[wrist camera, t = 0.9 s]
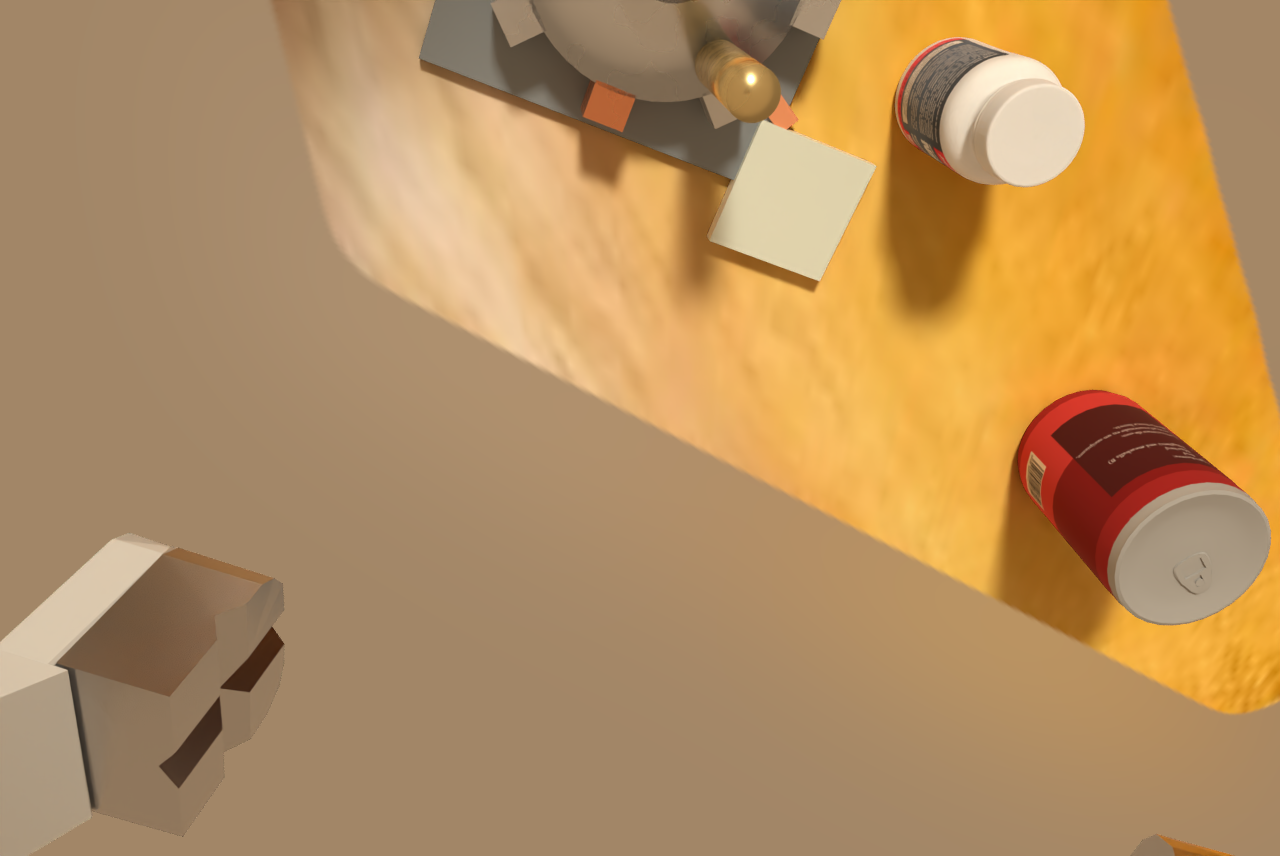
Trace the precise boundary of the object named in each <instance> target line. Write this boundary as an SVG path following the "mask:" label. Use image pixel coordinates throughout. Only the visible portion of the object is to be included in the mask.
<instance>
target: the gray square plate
mask: <svg viewBox="0 0 1280 856" xmlns="http://www.w3.org/2000/svg"><path fill="white" fill-rule="evenodd" d="M490 3H491V0H435V4H434V7H433V11H432V14H431V18H430V21H429V25H428V28H427V32H426V35H425V39H424V42H423V45H422V49H421V52H420V56H419V59H422V60H424V61H427V62H430V63H432V64H435V65H437V66H440V67H442V68H445V69H448V70H450V71H453V72H455V73H458V74H461V75H463V76H466V77H468V78H471V79H474V80H476V81H479V82H481V83H484V84H486V85H489V86H492V87H494V88H497V89H499V90H502V91H505V92H507V93H510V94H512V95H515V96H517V97H520V98H523V99H525V100H528V101H530V102H533V103H536V104H538V105H541V106H543V107H546V108H548V109H551V110H554V111H556V112H559V113H561V114H564V115H567V116H569V117H572V118H574V119H577V120H579V121H582V122H585V123H587V124H590V125H592V126H595V127H598V128H600V129H603V130H605V131H608V132H610V133H613V134H616V135H618V136H621V137H623V138H626V139H629V140H631V141H634V142H636V143H639V144H641V145H644V146H647V147H649V148H652V149H654V150H657V151H660V152H662V153H665V154H667V155H670V156H672V157H675V158H678V159H680V160H683V161H685V162H688V163H691V164H693V165H696V166H698V167H701V168H703V169H706V170H709V171H711V172H714V173H716V174H719V175H722V176H724V177H727V178H729V179H732V180H734V179H735V177H736V174H737V172H738V170H739V168H740V165H741V163H742V161H743V158H744V156H745V154H746V152H747V149H748V147H749V145H750V142H751V140H752V138H753V135H754V133H755V131H756V129H757V126H758V124H759V122H757V123H746V122H742V121H740V120H738V119H736V120H734V121H732V122H730V123H728V124H726V125H723V126H721V127H719V128H717V129H715V128H714V127H713V126H712V125H711V124H710V122H709V121H708V120H707V118H706V115H705V112H704V110H703V107H702V105H701V102H700V99H699V98H695V99H691V100H686V101H676V102H652V101H645V100H640V99H635V101H634V103H633V106H632V109H631V111H630V114H629V117H628V119H627V122H626V124H625V127H624V130H623V132H621V131H618V130H616V129H613V128H610V127H608V126H605V125H603V124H600V123H598V122H595V121H592V120H590V119H587V118H585V117H583V115H582V112H581V109H580V107H581V104H582V102H583V99H584V96H585V93H586V91H587V88H588V85H589V82H590V79H589V78H587V77H586V76H584V75H583V74H581V73H580V72H579V71H578V70H577V69H576V68H574V67H573V66H572V65H571V64H570V63H569V62H567V61H566V59H565V58H564V57H563V56H562V55H561V54H560V53H559V52H558V50H557V49H556V48H555V47H554V46H553V45H552V43H551V42H550V40H549V39H548V37H547V36H546V34H545V33H544V32H542V33H540V34H538V35H536V36H534V37H532V38H530V39H527V40H525V41H523V42H521V43H519V44H517V45H515V46H513V47H510V45H509V43H508V41H507V38H506V36H505V34H504V32H503V30H502V28H501V25H500V23H499V21H498V19H497V17H496V15H495V13H494V10H493V8H492V6H491V4H490ZM819 39H820V38H819V37H816V36H814V35H812V34H810V33H807V32H805V31H803V30H801V29H798V28H796V27H794V26H792V27H791V29H790V30H789V32H788V33H787V35H786V36H785V38H784V39H783V41H782V42H781V43H780V44H779V45H778V47H777V48H776V49H775V50H774V51H773V52H772V54H771V55H770V56H769V57H768V58H767V59H766V60H765V61H764V62H762V63H761V64H763V65H764V66H765V67H767V68H768V69H770V70H771V71H772V72H773V73H774V74H775V75H776V77H777V78H778V80H779V83H780V87H781V97H780V101H779V104H778V106H777V108H776V110H775V111H774V112H773V113H772V115H770V116H769V117H768V118H767V119H765V120H766V121H768V122H771V123H773V124H774V125H777V126H779V127H782V128H784V129H788V128H789V127H790V126H792V125H793V124H794V123H795V122H797V121H798V118H797V117H796V115H795V114H794V112H793V111H792V110H791V108H790V107H789V106H790V104H791V102H792V99H793V97H794V95H795V93H796V90H797V88H798V86H799V84H800V81H801V79H802V77H803V75H804V72H805V70H806V68H807V66H808V63H809V61H810V59H811V57H812V54H813V52H814V50H815V48H816V45H817V43H818V41H819Z"/></svg>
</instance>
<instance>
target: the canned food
mask: <svg viewBox="0 0 1280 856" xmlns="http://www.w3.org/2000/svg"><path fill="white" fill-rule="evenodd" d="M1018 468H1019V474H1020V477H1021V481H1022V484H1023V486H1024V488H1025V491H1026V492H1027V494H1028V495H1029V496H1030V498H1031V499H1032V500H1033V502H1034V503H1035V504H1036V505H1037V506H1038V508H1039V509H1040V510H1041V511H1042V512H1043V514H1044V515H1045V516H1046V517H1047V518H1048V519H1049V521H1050V522H1051V523H1052V524H1053V525H1054V527H1055V528H1056V529H1057V530H1058V531H1059V533H1060V534H1061V535H1062V536H1063V537H1064V539H1065V540H1066V541H1067V542H1068V543H1069V545H1070V546H1071V547H1072V548H1073V549H1074V550H1075V552H1076V553H1077V554H1078V555H1079V556H1080V558H1081V559H1082V560H1083V561H1084V562H1085V564H1086V565H1087V566H1088V567H1089V568H1090V570H1091V571H1092V572H1093V573H1094V574H1095V576H1096V577H1097V578H1098V579H1099V580H1100V581H1101V583H1102V584H1103V585H1104V586H1105V587H1106V589H1107V590H1108V591H1109V592H1110V593H1111V594H1112V595H1113V596H1114V597H1115V599H1116V600H1117V601H1118V602H1119V603H1120V604H1121V605H1122V606H1124V607H1125V608H1126V609H1127V610H1128V611H1129V612H1130V613H1132V614H1133V615H1134V616H1135V617H1137V618H1139V619H1141V620H1144V621H1146V622H1149V623H1154V624H1158V625H1180V624H1187V623H1191V622H1194V621H1198V620H1201V619H1204V618H1206V617H1209V616H1211V615H1213V614H1215V613H1217V612H1219V611H1221V610H1222V609H1224V608H1225V607H1227V606H1229V605H1230V604H1232V603H1233V602H1234V601H1235V600H1236V599H1238V598H1239V597H1240V596H1241V595H1242V594H1243V593H1244V592H1245V591H1246V590H1247V589H1248V588H1249V587H1250V586H1251V585H1252V584H1253V582H1254V581H1255V579H1256V578H1257V576H1258V575H1259V573H1260V572H1261V570H1262V568H1263V566H1264V564H1265V562H1266V559H1267V557H1268V553H1269V549H1270V544H1271V530H1270V526H1269V522H1268V519H1267V517H1266V515H1265V514H1264V512H1263V510H1262V509H1261V508H1260V507H1259V506H1258V505H1257V504H1256V502H1255V501H1254V500H1253V499H1252V498H1251V497H1250V496H1249V495H1248V494H1247V493H1245V492H1244V491H1243V490H1242V489H1241V488H1239V487H1238V486H1237V485H1236V484H1235V483H1234V482H1233V481H1232V480H1230V479H1229V478H1228V477H1227V476H1225V475H1224V474H1223V473H1222V472H1221V471H1219V470H1218V469H1217V468H1216V467H1214V466H1213V465H1212V464H1211V463H1209V462H1208V461H1207V460H1206V459H1205V458H1203V457H1202V456H1201V455H1200V454H1198V453H1197V452H1196V451H1195V450H1193V449H1192V448H1191V447H1190V446H1189V445H1187V444H1186V443H1185V442H1184V441H1182V440H1181V439H1180V438H1179V437H1177V436H1176V435H1175V434H1174V433H1173V432H1171V431H1170V430H1169V429H1168V428H1166V427H1165V426H1164V425H1163V424H1162V423H1160V422H1159V421H1158V420H1157V419H1155V418H1154V417H1153V416H1152V415H1150V414H1149V413H1148V412H1147V411H1146V410H1144V409H1143V408H1142V407H1141V406H1139V405H1138V404H1137V403H1136V402H1134V401H1132V400H1130V399H1129V398H1127V397H1125V396H1121V395H1118V394H1114V393H1111V392H1107V391H1102V390H1087V391H1079V392H1076V393H1073V394H1069V395H1067V396H1065V397H1063V398H1060V399H1058V400H1056V401H1055V402H1053V403H1052V404H1050V405H1049V406H1048V407H1046V408H1045V409H1044V410H1043V411H1042V412H1041V413H1040V414H1038V415H1037V416H1036V417H1035V419H1034V420H1033V421H1032V423H1031V424H1030V425H1029V427H1028V428H1027V430H1026V432H1025V434H1024V436H1023V438H1022V440H1021V444H1020V447H1019V451H1018Z"/></svg>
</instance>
